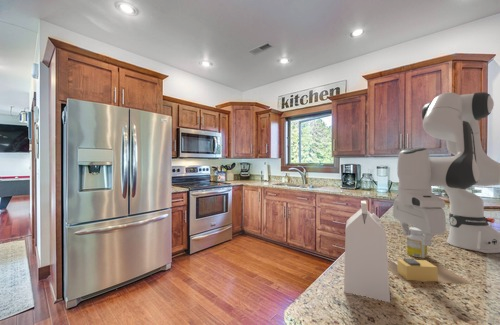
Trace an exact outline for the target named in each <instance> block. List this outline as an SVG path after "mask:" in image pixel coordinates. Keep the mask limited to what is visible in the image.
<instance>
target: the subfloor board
mask: <svg viewBox="0 0 500 325" xmlns="http://www.w3.org/2000/svg"><path fill="white" fill-rule="evenodd" d="M430 263H431V264H433V265H435V266H436V267H437V269H438V281H414V280H406V279H405V278H404V277H402V276H401V275H400V274H399V273H398V267H397V261H388V271H390V272H391V273H392V274H394V275H395V276H396V277H397V278H398V279H400V280H401V281H402V282H413V283H414V282H415V283H416V282H417V283H418V282H419V283H420V282H421V283H438V284H439V283H440V284H441V283H442V284H443V283H444V284H465V285H473V283H472V282H470V281H469V280H467V279H466V278H463V277H461V276H460V275H458V274H456V273H455V272H453V271H451V270H449V269H448V268H446V267H444V266H442V265H441V264H439V263H435V262H433V263H432V262H430Z"/></svg>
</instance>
